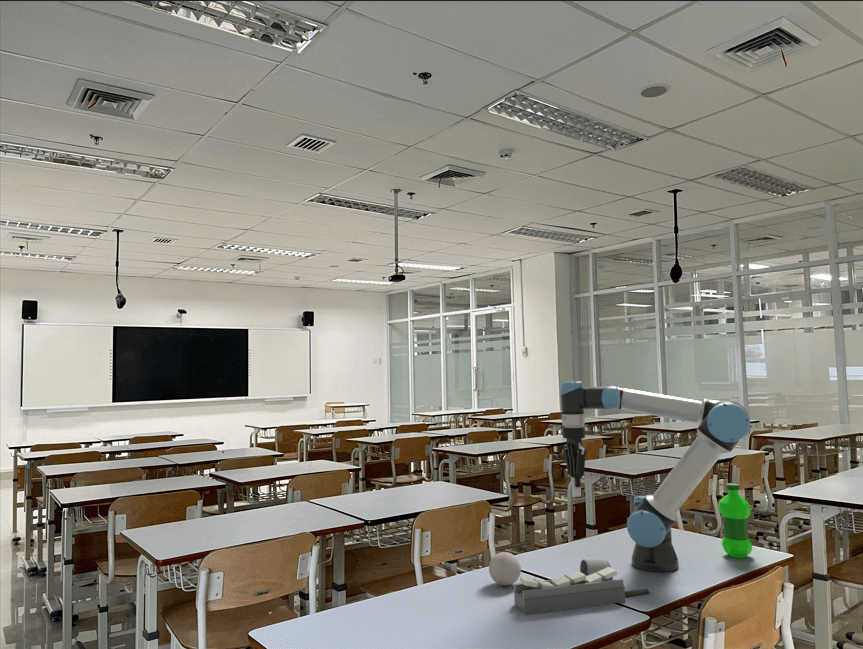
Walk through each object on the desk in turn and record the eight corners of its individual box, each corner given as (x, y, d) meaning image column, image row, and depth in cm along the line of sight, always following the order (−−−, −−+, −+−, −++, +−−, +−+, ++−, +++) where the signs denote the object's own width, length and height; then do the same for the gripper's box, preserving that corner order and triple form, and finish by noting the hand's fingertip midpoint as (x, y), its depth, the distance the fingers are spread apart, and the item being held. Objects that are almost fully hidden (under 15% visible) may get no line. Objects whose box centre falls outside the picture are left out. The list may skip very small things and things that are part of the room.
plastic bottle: (724, 550, 230) (719, 481, 232) (756, 554, 224) (751, 483, 226) (718, 557, 222) (713, 485, 224) (751, 561, 216) (746, 487, 218)
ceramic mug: (614, 586, 196) (612, 560, 196) (589, 588, 194) (588, 562, 195) (599, 576, 206) (598, 552, 207) (576, 578, 205) (574, 554, 205)
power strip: (640, 589, 193) (639, 568, 193) (655, 597, 185) (654, 576, 185) (514, 604, 183) (513, 583, 183) (525, 614, 175) (524, 592, 175)
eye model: (491, 579, 206) (490, 547, 207) (522, 580, 204) (521, 548, 205) (487, 589, 196) (486, 556, 197) (520, 590, 194) (519, 557, 195)
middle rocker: (579, 575, 186) (578, 570, 186) (586, 579, 182) (585, 574, 182) (552, 584, 184) (551, 579, 184) (558, 589, 180) (557, 584, 180)
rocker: (610, 570, 189) (608, 566, 189) (617, 575, 184) (616, 570, 184) (583, 581, 186) (582, 577, 186) (591, 586, 182) (589, 581, 182)
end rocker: (547, 586, 184) (548, 581, 184) (553, 591, 179) (554, 586, 180) (519, 581, 182) (520, 576, 182) (525, 585, 177) (526, 580, 178)
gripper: (555, 425, 222) (558, 493, 220) (572, 428, 209) (575, 500, 207) (574, 424, 224) (577, 492, 222) (592, 427, 211) (596, 499, 209)
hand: (576, 496), depth 215 cm, fingers closed
